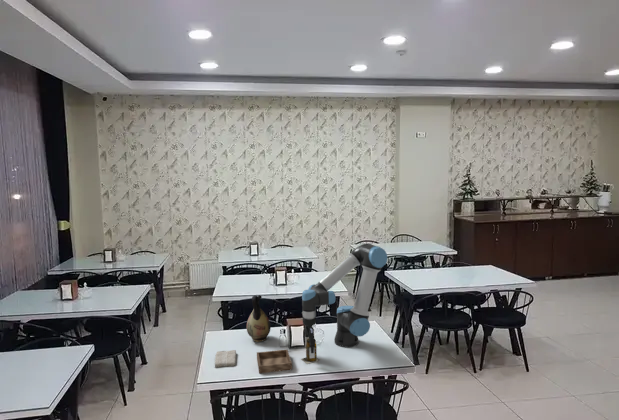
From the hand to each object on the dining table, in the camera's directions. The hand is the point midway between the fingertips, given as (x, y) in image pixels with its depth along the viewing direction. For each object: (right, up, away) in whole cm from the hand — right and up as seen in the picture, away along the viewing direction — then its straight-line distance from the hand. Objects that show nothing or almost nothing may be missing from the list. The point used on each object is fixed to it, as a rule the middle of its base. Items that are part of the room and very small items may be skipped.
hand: (309, 352), depth 252 cm
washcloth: (-49, -6, +3) cm, 49 cm away
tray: (-20, -5, -4) cm, 21 cm away
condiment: (0, -5, 0) cm, 4 cm away
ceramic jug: (-33, -2, +31) cm, 45 cm away
